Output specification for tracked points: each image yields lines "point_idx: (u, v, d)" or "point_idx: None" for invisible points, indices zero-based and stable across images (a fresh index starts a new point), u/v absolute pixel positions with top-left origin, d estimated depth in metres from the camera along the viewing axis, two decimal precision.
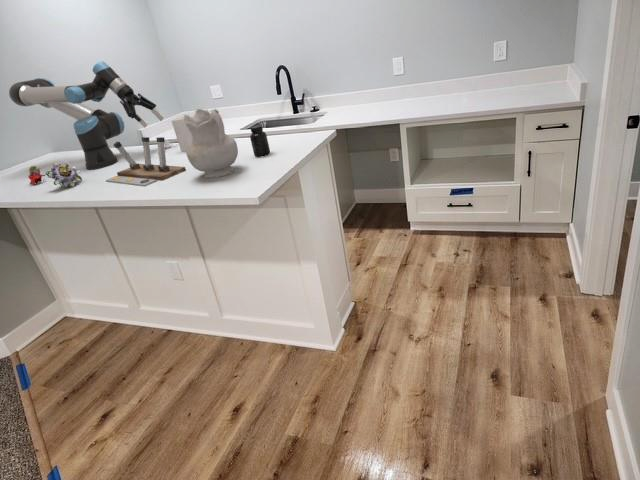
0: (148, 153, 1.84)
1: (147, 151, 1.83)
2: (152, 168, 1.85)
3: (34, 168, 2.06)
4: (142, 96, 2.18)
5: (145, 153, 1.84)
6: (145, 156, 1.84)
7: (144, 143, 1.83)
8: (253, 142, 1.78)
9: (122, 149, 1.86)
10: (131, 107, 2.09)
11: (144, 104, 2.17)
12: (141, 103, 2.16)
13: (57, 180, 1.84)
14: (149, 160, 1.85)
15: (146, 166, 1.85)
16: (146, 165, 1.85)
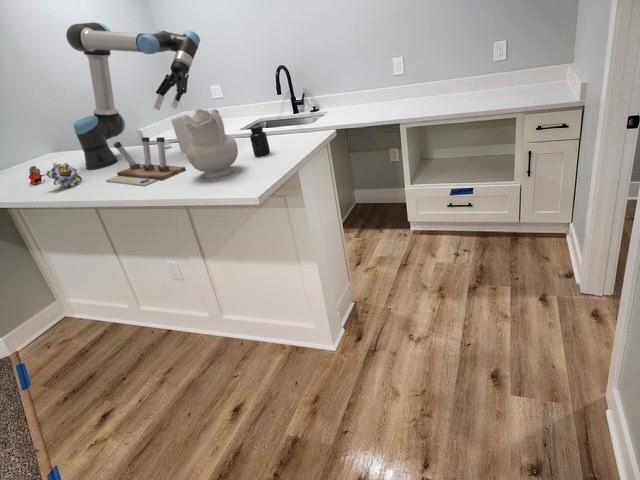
0: (148, 153, 1.84)
1: (147, 151, 1.83)
2: (152, 168, 1.85)
3: (34, 168, 2.06)
4: (169, 81, 1.95)
5: (145, 153, 1.84)
6: (145, 156, 1.84)
7: (144, 143, 1.83)
8: (253, 142, 1.78)
9: (122, 149, 1.86)
10: (181, 85, 1.87)
11: (168, 87, 1.92)
12: (169, 85, 1.92)
13: (57, 180, 1.84)
14: (149, 160, 1.85)
15: (146, 166, 1.85)
16: (146, 165, 1.85)
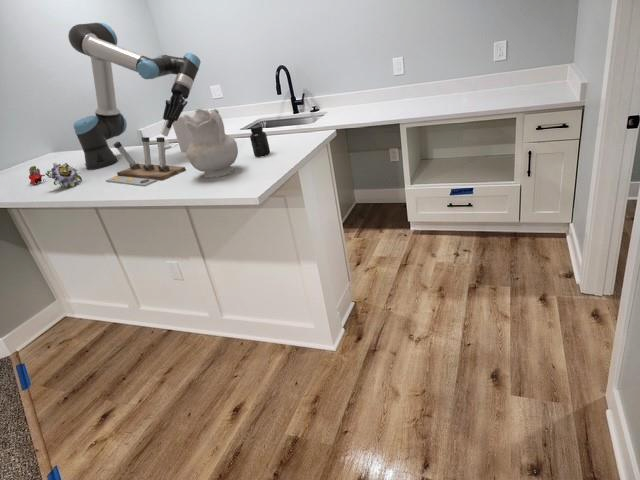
0: (148, 153, 1.84)
1: (147, 151, 1.83)
2: (152, 168, 1.85)
3: (34, 168, 2.06)
4: None
5: (145, 153, 1.84)
6: (145, 156, 1.84)
7: (144, 143, 1.83)
8: (253, 142, 1.78)
9: (122, 149, 1.86)
10: None
11: None
12: None
13: (57, 180, 1.84)
14: (149, 160, 1.85)
15: (146, 166, 1.85)
16: (146, 165, 1.85)
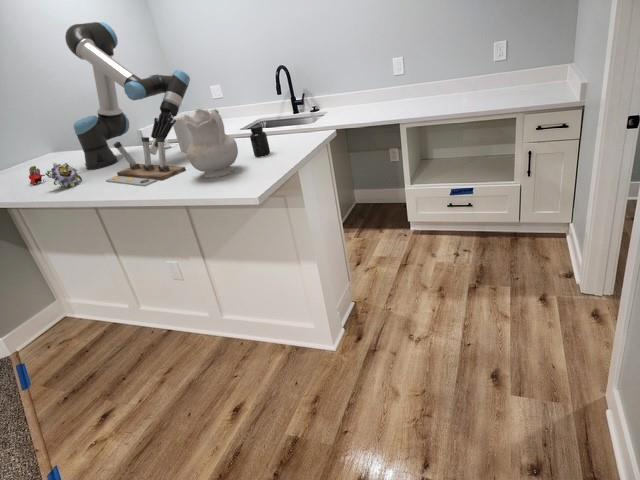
0: (148, 153, 1.84)
1: (147, 151, 1.83)
2: (152, 168, 1.85)
3: (34, 168, 2.06)
4: None
5: (145, 153, 1.84)
6: (145, 156, 1.84)
7: (144, 143, 1.82)
8: (253, 142, 1.78)
9: (122, 149, 1.86)
10: None
11: None
12: None
13: (57, 180, 1.84)
14: (149, 160, 1.85)
15: (146, 166, 1.85)
16: (146, 165, 1.85)
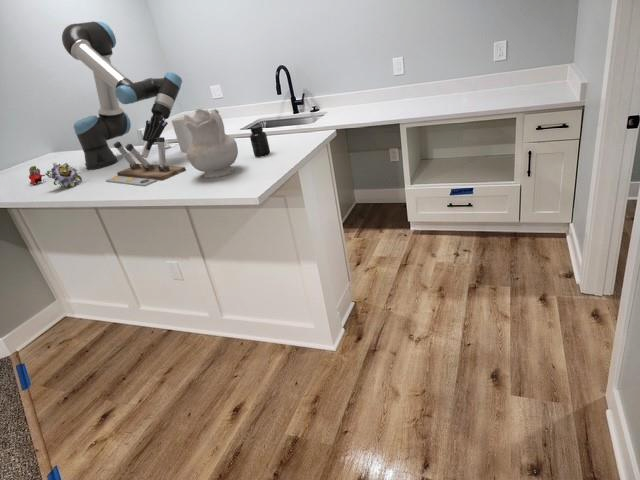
0: (140, 157, 1.81)
1: (138, 156, 1.81)
2: (152, 168, 1.85)
3: (34, 168, 2.06)
4: None
5: (138, 158, 1.81)
6: (140, 161, 1.82)
7: (131, 151, 1.78)
8: (253, 142, 1.78)
9: (122, 149, 1.86)
10: None
11: None
12: None
13: (57, 180, 1.84)
14: (145, 162, 1.83)
15: (146, 168, 1.85)
16: (146, 167, 1.85)
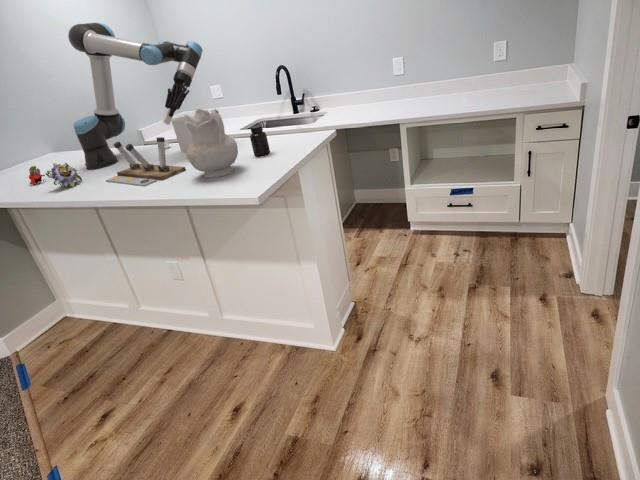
0: (140, 157, 1.81)
1: (138, 156, 1.81)
2: (152, 168, 1.85)
3: (34, 168, 2.06)
4: None
5: (138, 158, 1.81)
6: (140, 161, 1.82)
7: (131, 151, 1.78)
8: (253, 142, 1.78)
9: (122, 149, 1.86)
10: None
11: None
12: None
13: (57, 180, 1.84)
14: (145, 162, 1.83)
15: (146, 168, 1.85)
16: (146, 167, 1.85)
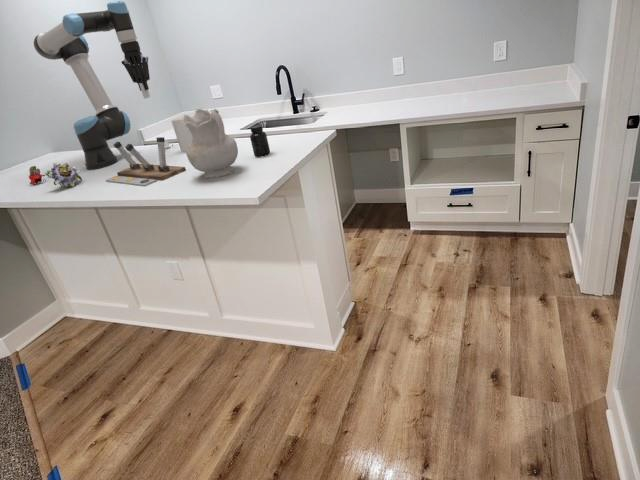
0: (140, 157, 1.81)
1: (138, 156, 1.81)
2: (152, 168, 1.85)
3: (34, 168, 2.06)
4: None
5: (138, 158, 1.81)
6: (140, 161, 1.82)
7: (131, 151, 1.78)
8: (253, 142, 1.78)
9: (122, 149, 1.86)
10: (142, 70, 1.92)
11: (137, 70, 1.93)
12: (135, 67, 1.92)
13: (57, 180, 1.84)
14: (145, 162, 1.83)
15: (146, 168, 1.85)
16: (146, 167, 1.85)
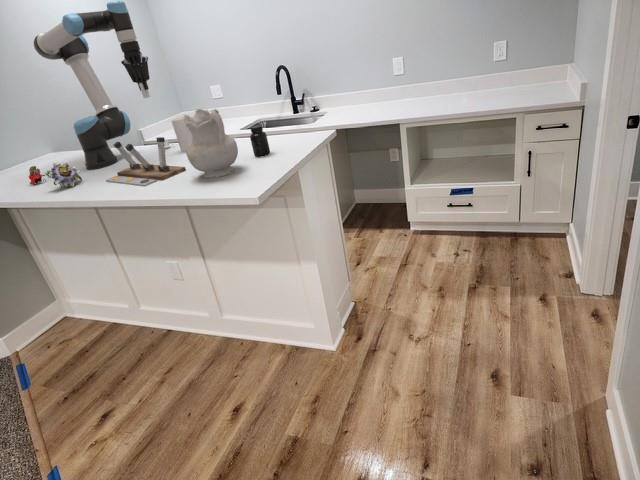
0: (140, 157, 1.81)
1: (138, 156, 1.81)
2: (152, 168, 1.85)
3: (34, 168, 2.06)
4: None
5: (138, 158, 1.81)
6: (140, 161, 1.82)
7: (131, 151, 1.78)
8: (253, 142, 1.78)
9: (122, 149, 1.86)
10: (142, 70, 1.92)
11: (137, 70, 1.93)
12: (135, 67, 1.92)
13: (57, 180, 1.84)
14: (145, 162, 1.83)
15: (146, 168, 1.85)
16: (146, 167, 1.85)
